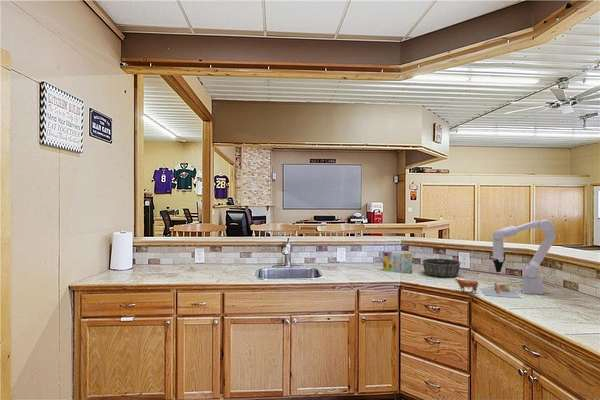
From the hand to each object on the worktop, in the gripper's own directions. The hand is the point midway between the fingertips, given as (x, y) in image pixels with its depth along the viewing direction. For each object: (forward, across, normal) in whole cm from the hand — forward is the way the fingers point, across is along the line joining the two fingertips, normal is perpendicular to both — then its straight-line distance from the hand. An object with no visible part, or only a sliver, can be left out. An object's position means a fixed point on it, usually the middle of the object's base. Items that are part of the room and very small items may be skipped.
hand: (498, 272), depth 222 cm
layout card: (+10, +12, -2) cm, 16 cm away
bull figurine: (+11, +13, -20) cm, 26 cm away
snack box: (+11, -39, -61) cm, 73 cm away
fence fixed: (+10, +8, +1) cm, 13 cm away
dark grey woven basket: (+11, -35, -30) cm, 47 cm away
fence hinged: (+10, +12, -3) cm, 16 cm away
